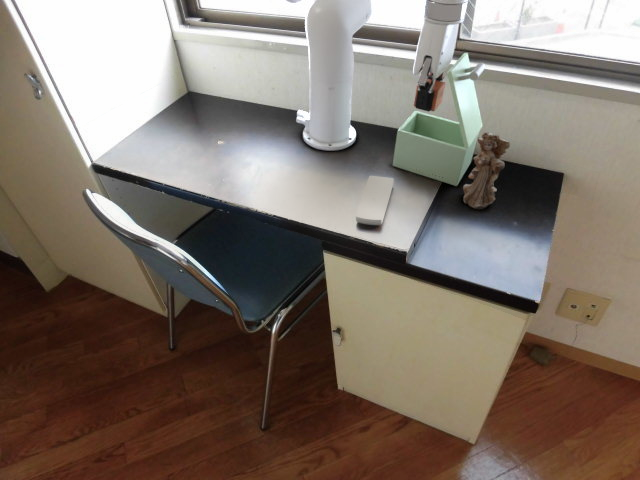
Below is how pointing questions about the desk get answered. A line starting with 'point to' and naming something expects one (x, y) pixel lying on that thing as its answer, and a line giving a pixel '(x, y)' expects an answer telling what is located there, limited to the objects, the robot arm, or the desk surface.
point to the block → (435, 94)
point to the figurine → (485, 171)
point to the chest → (432, 148)
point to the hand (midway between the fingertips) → (427, 103)
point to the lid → (466, 97)
